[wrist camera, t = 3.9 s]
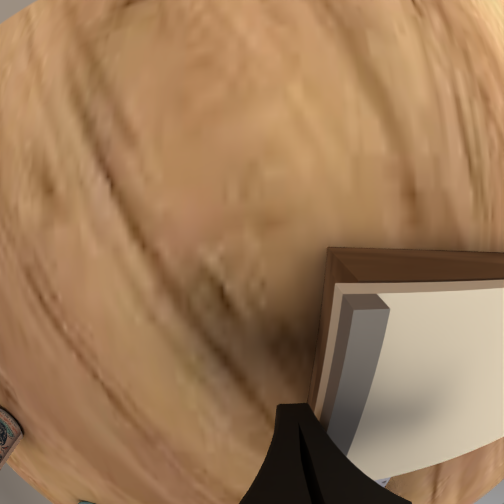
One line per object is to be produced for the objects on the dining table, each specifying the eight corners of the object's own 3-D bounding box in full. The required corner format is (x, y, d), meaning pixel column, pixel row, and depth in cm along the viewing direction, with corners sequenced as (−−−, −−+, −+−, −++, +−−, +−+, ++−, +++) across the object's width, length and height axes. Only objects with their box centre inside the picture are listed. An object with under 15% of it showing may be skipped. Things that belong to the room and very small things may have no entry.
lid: (516, 419, 13) (528, 435, 11) (298, 477, 13) (302, 507, 11) (575, 275, 10) (596, 285, 8) (335, 283, 10) (353, 310, 8)
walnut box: (492, 382, 19) (520, 414, 14) (304, 417, 19) (314, 472, 14) (534, 254, 16) (577, 273, 11) (327, 246, 16) (358, 280, 11)
